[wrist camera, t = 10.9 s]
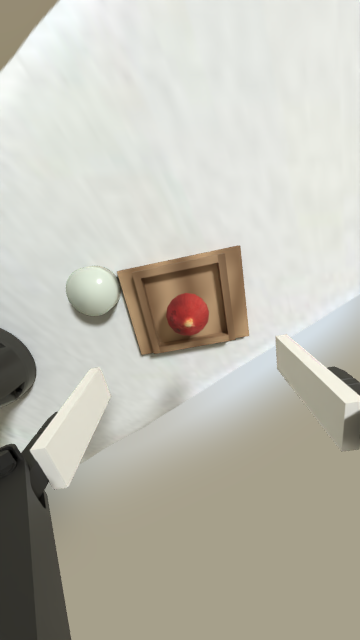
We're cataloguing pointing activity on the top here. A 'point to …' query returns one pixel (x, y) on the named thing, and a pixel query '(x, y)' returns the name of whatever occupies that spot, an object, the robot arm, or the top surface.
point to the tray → (187, 277)
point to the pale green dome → (93, 290)
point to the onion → (187, 314)
